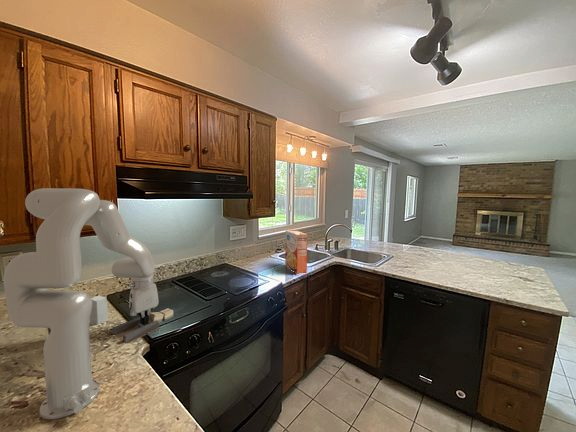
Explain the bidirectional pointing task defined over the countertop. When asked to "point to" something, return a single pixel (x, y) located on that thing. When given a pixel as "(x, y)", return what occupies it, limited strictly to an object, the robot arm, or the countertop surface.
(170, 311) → the beige cube
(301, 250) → the pasta box
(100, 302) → the skincare box
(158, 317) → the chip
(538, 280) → the countertop surface
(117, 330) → the slot block
